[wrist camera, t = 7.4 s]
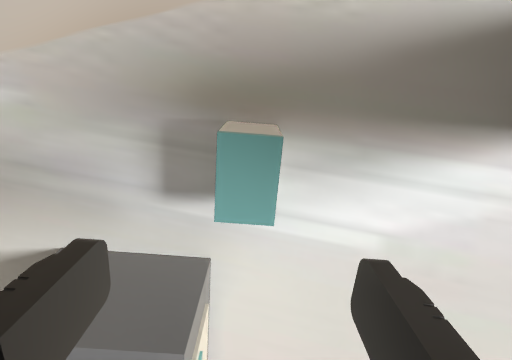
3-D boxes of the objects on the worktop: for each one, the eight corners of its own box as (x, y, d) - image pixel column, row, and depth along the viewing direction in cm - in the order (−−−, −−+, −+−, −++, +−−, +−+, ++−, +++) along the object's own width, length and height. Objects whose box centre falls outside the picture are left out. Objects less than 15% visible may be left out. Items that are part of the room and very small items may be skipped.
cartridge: (277, 124, 22) (283, 137, 17) (270, 193, 24) (273, 226, 19) (227, 120, 22) (217, 132, 17) (224, 190, 24) (214, 221, 19)
